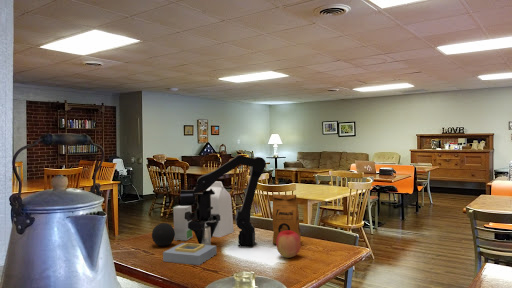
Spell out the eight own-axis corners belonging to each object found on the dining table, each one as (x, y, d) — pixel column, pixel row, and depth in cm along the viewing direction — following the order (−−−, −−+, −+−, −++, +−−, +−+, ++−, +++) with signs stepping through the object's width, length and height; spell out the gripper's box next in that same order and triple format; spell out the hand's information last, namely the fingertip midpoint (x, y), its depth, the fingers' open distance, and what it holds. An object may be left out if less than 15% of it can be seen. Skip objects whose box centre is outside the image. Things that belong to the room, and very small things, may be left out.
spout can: (212, 246, 166) (212, 226, 166) (207, 250, 162) (207, 228, 162) (198, 245, 169) (198, 225, 169) (193, 248, 164) (192, 227, 164)
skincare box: (186, 241, 177) (185, 207, 177) (173, 240, 178) (172, 207, 178) (193, 236, 185) (192, 204, 185) (180, 236, 186) (179, 204, 186)
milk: (233, 232, 192) (232, 180, 192) (219, 237, 182) (218, 183, 182) (214, 229, 199) (213, 179, 198) (200, 234, 189) (199, 182, 189)
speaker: (170, 241, 177) (169, 220, 177) (178, 246, 169) (177, 223, 168) (149, 245, 172) (148, 223, 172) (156, 250, 163) (155, 227, 163)
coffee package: (297, 248, 161) (296, 196, 161) (270, 245, 166) (268, 195, 165) (303, 242, 170) (302, 193, 170) (277, 240, 175) (275, 192, 175)
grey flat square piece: (216, 254, 155) (216, 243, 155) (199, 265, 142) (199, 253, 142) (182, 251, 161) (182, 240, 161) (163, 261, 148) (162, 249, 148)
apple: (272, 255, 152) (271, 230, 152) (294, 252, 155) (293, 227, 155) (282, 262, 143) (282, 235, 143) (305, 258, 146) (304, 233, 146)
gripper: (198, 200, 176) (199, 234, 176) (176, 208, 159) (177, 245, 159) (220, 201, 172) (221, 236, 172) (199, 209, 155) (200, 247, 155)
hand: (205, 240), depth 165 cm, fingers open, 9 cm apart
